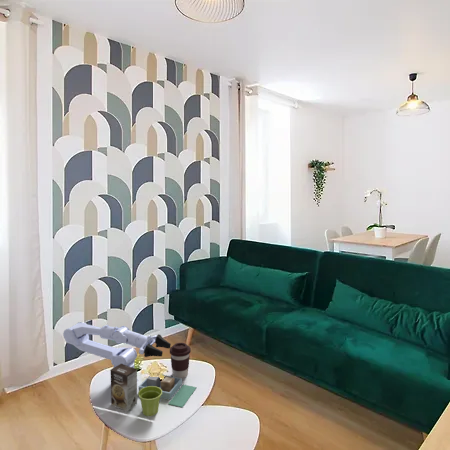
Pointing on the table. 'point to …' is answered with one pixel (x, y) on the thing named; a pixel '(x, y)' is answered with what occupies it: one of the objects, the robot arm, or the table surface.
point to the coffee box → (123, 387)
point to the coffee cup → (180, 359)
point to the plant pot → (150, 399)
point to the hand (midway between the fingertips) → (166, 350)
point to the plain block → (153, 381)
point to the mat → (182, 396)
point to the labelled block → (167, 384)
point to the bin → (164, 394)
